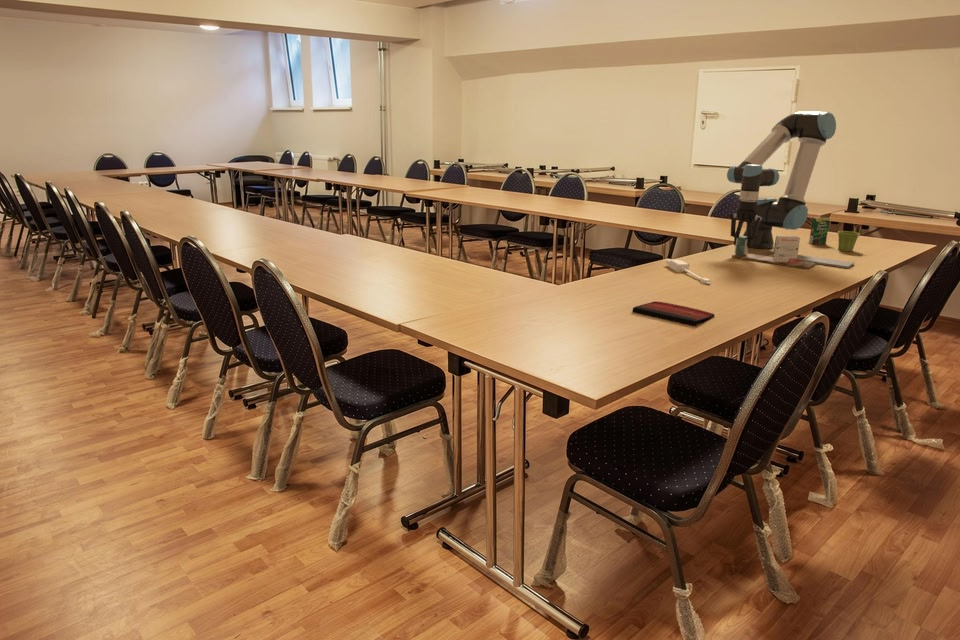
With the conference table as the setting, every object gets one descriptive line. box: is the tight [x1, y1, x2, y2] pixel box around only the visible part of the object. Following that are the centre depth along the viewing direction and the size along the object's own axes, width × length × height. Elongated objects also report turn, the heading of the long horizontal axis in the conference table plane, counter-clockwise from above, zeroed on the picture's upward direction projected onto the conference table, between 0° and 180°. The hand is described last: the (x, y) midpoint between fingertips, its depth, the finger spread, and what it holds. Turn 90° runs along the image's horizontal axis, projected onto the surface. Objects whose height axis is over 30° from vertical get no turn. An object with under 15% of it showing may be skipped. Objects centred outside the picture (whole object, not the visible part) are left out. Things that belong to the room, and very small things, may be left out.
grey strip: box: [769, 238, 855, 269], centre depth 291 cm, size 32×11×9 cm, turn 50°
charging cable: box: [665, 259, 712, 285], centre depth 260 cm, size 5×32×3 cm, turn 10°
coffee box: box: [808, 217, 831, 245], centre depth 332 cm, size 8×3×13 cm, turn 100°
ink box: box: [773, 234, 801, 263], centre depth 284 cm, size 9×5×12 cm, turn 80°
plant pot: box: [837, 230, 861, 252], centre depth 317 cm, size 9×9×9 cm
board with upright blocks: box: [731, 235, 816, 270], centre depth 288 cm, size 32×11×9 cm, turn 50°
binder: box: [632, 301, 716, 328], centre depth 208 cm, size 16×2×21 cm
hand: (740, 253), depth 297 cm, fingers open, 3 cm apart
